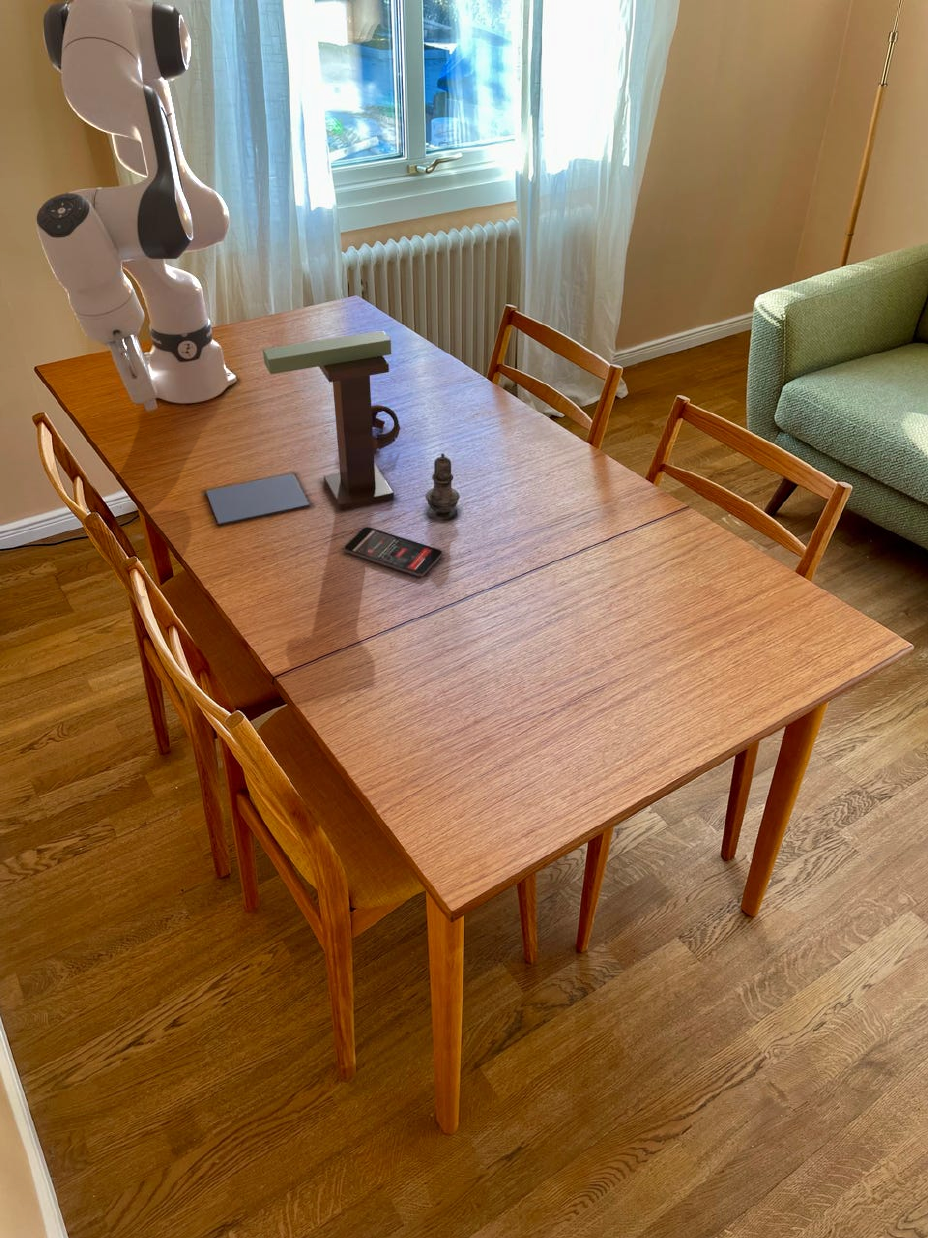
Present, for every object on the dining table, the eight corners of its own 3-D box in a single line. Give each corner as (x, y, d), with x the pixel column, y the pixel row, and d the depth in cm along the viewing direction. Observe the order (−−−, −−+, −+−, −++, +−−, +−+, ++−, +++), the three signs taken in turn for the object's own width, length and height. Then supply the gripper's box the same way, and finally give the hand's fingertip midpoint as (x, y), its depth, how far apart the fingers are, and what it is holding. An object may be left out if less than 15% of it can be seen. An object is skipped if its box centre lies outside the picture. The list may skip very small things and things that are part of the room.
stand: (323, 482, 172) (311, 347, 155) (376, 471, 175) (369, 338, 158) (340, 511, 165) (328, 373, 148) (394, 499, 168) (388, 363, 151)
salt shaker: (447, 526, 162) (448, 466, 154) (419, 515, 164) (418, 455, 157) (465, 510, 166) (467, 450, 158) (437, 499, 168) (437, 440, 160)
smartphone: (422, 575, 150) (342, 548, 155) (422, 578, 151) (342, 552, 156) (443, 550, 155) (365, 525, 160) (443, 554, 156) (365, 529, 161)
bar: (264, 363, 150) (262, 348, 149) (383, 344, 156) (382, 329, 155) (270, 374, 147) (268, 359, 146) (391, 354, 154) (390, 339, 152)
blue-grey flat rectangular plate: (205, 492, 169) (205, 490, 169) (293, 474, 174) (293, 472, 173) (218, 525, 161) (218, 523, 161) (309, 506, 166) (309, 504, 166)
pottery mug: (397, 428, 188) (405, 405, 181) (391, 468, 184) (399, 446, 177) (337, 414, 186) (343, 390, 178) (330, 455, 182) (336, 432, 175)
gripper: (146, 347, 129) (180, 423, 140) (118, 269, 140) (151, 344, 151) (101, 362, 128) (139, 437, 139) (76, 282, 139) (113, 357, 150)
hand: (145, 388), depth 145 cm, fingers open, 8 cm apart
